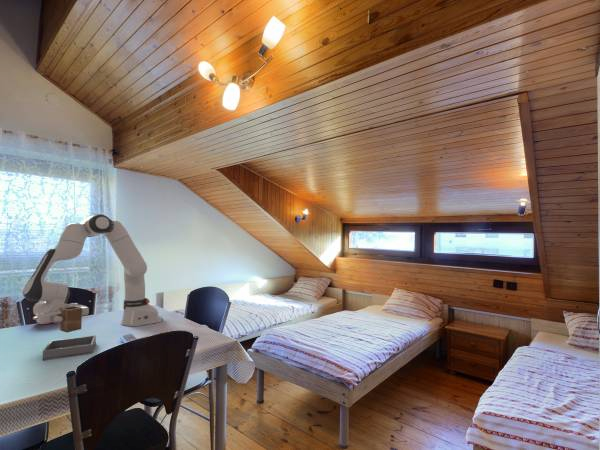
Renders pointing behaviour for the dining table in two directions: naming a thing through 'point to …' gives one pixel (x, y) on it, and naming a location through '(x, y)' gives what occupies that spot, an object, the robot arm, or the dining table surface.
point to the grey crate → (69, 347)
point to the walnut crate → (71, 319)
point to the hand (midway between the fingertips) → (72, 316)
